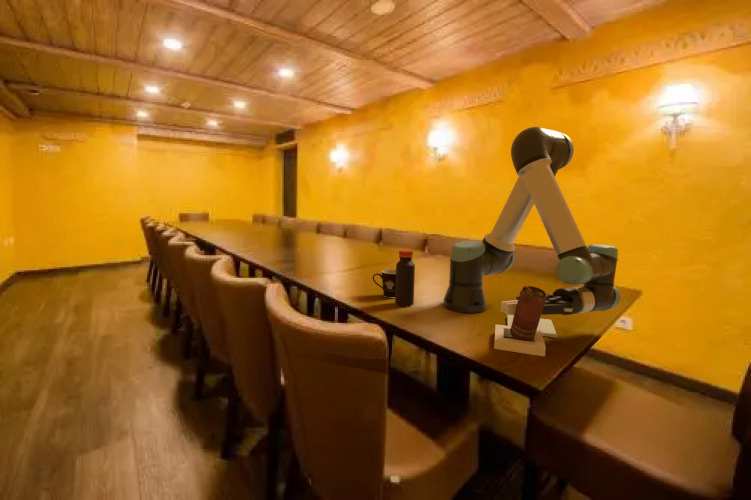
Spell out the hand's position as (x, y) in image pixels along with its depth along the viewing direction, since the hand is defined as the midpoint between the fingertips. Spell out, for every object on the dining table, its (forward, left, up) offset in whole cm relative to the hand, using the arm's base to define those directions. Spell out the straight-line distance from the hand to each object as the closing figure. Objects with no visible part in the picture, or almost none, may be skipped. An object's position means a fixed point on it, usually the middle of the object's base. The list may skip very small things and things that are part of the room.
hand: (504, 307), depth 89 cm
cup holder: (+4, +4, -11) cm, 12 cm away
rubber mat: (+8, +19, -11) cm, 23 cm away
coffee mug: (-43, +35, -11) cm, 56 cm away
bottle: (-34, +26, -11) cm, 44 cm away
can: (+5, +3, -8) cm, 10 cm away
